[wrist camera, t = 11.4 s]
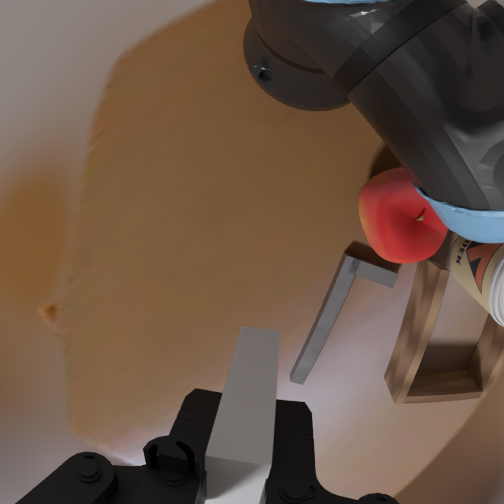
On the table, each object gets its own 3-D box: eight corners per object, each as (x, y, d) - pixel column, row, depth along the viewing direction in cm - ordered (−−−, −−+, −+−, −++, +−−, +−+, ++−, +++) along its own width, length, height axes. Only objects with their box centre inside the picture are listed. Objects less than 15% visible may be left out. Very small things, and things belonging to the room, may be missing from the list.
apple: (414, 253, 35) (451, 280, 25) (341, 241, 35) (361, 267, 26) (428, 174, 32) (472, 178, 23) (354, 157, 33) (380, 153, 23)
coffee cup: (474, 206, 32) (533, 223, 21) (505, 254, 33) (559, 281, 22) (431, 260, 35) (480, 295, 23) (465, 303, 36) (512, 345, 24)
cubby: (419, 254, 35) (440, 269, 29) (507, 268, 34) (531, 281, 28) (383, 377, 39) (394, 403, 34) (469, 375, 38) (484, 397, 33)
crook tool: (343, 251, 36) (346, 255, 34) (393, 269, 36) (398, 274, 34) (290, 373, 41) (290, 381, 39) (335, 385, 40) (337, 393, 39)
